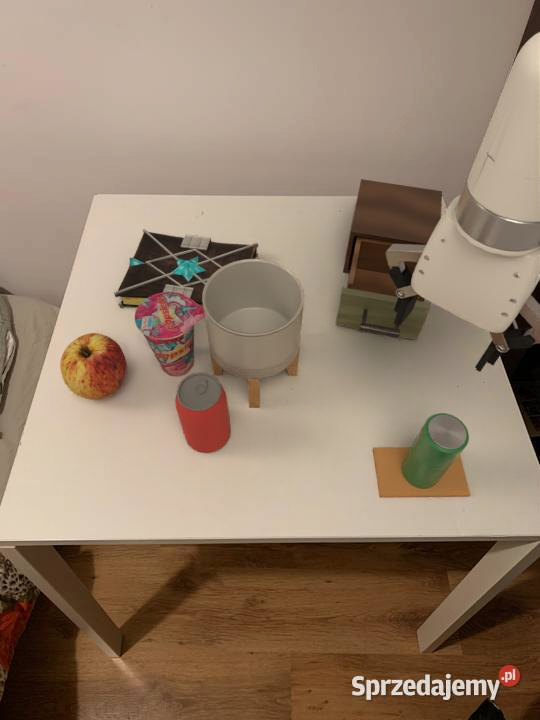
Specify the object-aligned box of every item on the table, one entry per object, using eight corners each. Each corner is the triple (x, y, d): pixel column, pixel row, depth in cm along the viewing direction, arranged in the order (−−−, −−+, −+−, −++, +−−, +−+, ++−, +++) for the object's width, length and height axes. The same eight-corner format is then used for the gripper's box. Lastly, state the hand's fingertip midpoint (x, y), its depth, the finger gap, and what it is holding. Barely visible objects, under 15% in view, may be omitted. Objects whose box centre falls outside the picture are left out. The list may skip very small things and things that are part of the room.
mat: (456, 448, 70) (458, 446, 69) (469, 496, 66) (470, 495, 65) (372, 449, 69) (373, 447, 69) (379, 497, 65) (380, 496, 65)
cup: (164, 394, 74) (148, 347, 64) (142, 355, 78) (125, 305, 68) (218, 368, 77) (212, 320, 67) (195, 332, 81) (186, 281, 71)
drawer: (415, 360, 77) (429, 330, 71) (331, 344, 79) (337, 313, 72) (421, 281, 87) (434, 247, 80) (346, 268, 89) (353, 234, 82)
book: (258, 256, 91) (258, 235, 87) (240, 326, 82) (239, 306, 78) (146, 242, 93) (141, 221, 89) (116, 308, 84) (108, 288, 80)
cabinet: (423, 286, 87) (439, 245, 80) (342, 272, 89) (350, 231, 81) (427, 233, 96) (442, 191, 88) (353, 221, 97) (361, 179, 89)
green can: (440, 457, 68) (470, 416, 58) (439, 492, 65) (470, 456, 55) (402, 449, 69) (425, 407, 59) (399, 484, 66) (423, 446, 56)
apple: (122, 416, 72) (103, 379, 64) (63, 407, 73) (38, 370, 65) (140, 365, 77) (126, 325, 69) (86, 358, 78) (64, 317, 70)
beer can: (236, 419, 72) (232, 375, 62) (222, 460, 68) (215, 419, 58) (194, 408, 73) (183, 363, 63) (178, 448, 69) (164, 406, 59)
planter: (210, 407, 73) (197, 334, 58) (217, 338, 80) (206, 258, 66) (297, 408, 73) (306, 335, 58) (295, 339, 80) (302, 259, 66)
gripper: (631, 232, 38) (531, 357, 52) (431, 150, 44) (390, 282, 58) (601, 287, 35) (502, 406, 49) (389, 190, 41) (356, 321, 55)
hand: (441, 339), depth 53 cm, fingers open, 9 cm apart
